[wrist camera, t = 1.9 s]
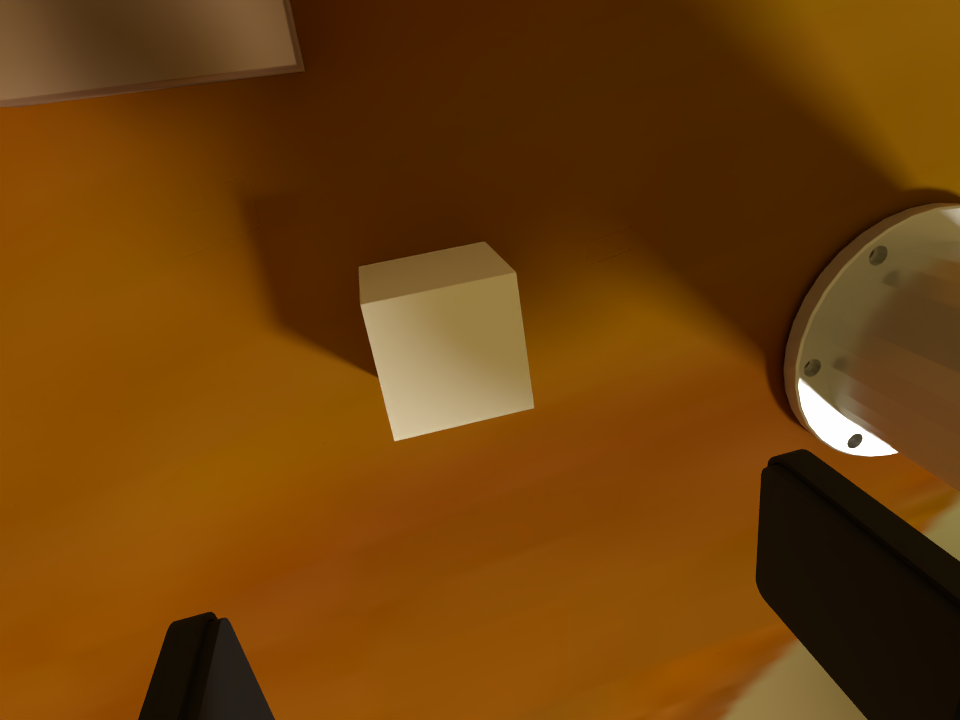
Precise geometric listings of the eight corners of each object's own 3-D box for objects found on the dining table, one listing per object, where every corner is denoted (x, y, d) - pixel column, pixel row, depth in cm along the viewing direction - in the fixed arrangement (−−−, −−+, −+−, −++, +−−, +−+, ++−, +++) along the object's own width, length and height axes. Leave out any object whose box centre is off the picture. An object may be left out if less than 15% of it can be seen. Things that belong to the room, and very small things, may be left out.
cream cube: (484, 240, 23) (516, 272, 19) (501, 355, 26) (534, 408, 21) (358, 266, 23) (360, 304, 18) (386, 380, 25) (394, 441, 20)
